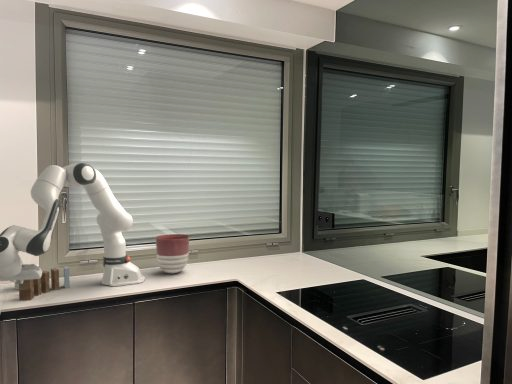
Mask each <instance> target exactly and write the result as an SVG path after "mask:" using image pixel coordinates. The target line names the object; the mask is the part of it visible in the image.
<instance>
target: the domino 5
mask: <svg viewBox="0 0 512 384" xmlns="http://www.w3.org/2000/svg"><path fill="white" fill-rule="evenodd" d="M63 282H64V283H63V284H64V288H65V289H68V288H70V282H71V281H70V267H69V266H68V265H67V266H63Z"/></svg>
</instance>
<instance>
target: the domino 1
mask: <svg viewBox="0 0 512 384" xmlns="http://www.w3.org/2000/svg"><path fill="white" fill-rule="evenodd" d="M18 293H19V294H18V299H19V301H32V300H33V299H34V298H35V295H34V281H33V279H29V280H23V284H19V290H18Z"/></svg>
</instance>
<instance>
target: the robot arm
mask: <svg viewBox="0 0 512 384" xmlns="http://www.w3.org/2000/svg"><path fill="white" fill-rule="evenodd" d="M81 186H82V187H83V188H84V190H85V192H86V194H87V196H88V197H89V199H90V202H91V203H92V205H93V207H94V208H95V209H96V210H97V211H98V214H97V216H96V223H97V225H98V227H99V229H100V233H101V236H102V240H103V241H102V242H103V258H102V266H103V273H102V279H101V282H100V283H101V284H102V285H104V286H110V287H118V286H119V287H120V286H129V285H136V284H143V283H144V282H145V281H146V277H145V275H144V274H141V269H140V268H139V267H138V266H137V265H135V264H134V263H132V262H131V257H130V255H128V254H127V251H126V250H127V249H126V248H127V247H126V246H127V245H126V244H127V243H126V239H125V238H124V236H123V233H122V232H126V231H129V230H130V229H131V228H132V227H133V224H134V219H133V217H132V215H131V214H130V213H128V212H127V211H126V210H125V208H124V207H123V206H122V205H121V203H120V202H119V201H118V199H116V197H115V195H114V193H113V192H112V190H111V188H110V186H109V184H108V182H107V180H106V179H105V177H104V176H103V175H102V173H101V172H100V171H99V170H98V169H96V168H94V167H93V166H92V165H90V163H85V162H79V163H71V164H69V165H65V166H59V165H55V164H52V165H48V166H47V167H46V168H45V169H43V171H42V172H41V173H40V174H39V176H38V177H37V178H36V180H35V181H34V182H33V185H32V186H31V188H30V189H31V190H30V196H31V199H32V200H33V202H34V203H36V205H38V206H39V207H41V208H42V209H43V210H45V216H44V219H43V222H42V225H41V228H39V229H38V230H36V229H35V230H34V229H31V228H26V227H23V226H20V225H15V224H14V225H10V226H9V227H6V228H5V229H4V230H2V232H1V233H0V282H8V281H10V282H12V283H14V285H15V284H23V280H29V279H40V278H41V276H42V271H43V270H42V268H41V267H40V266H39V265H38V264H36V263H25V264H24V263H23V260H22V258H21V257H20V255H19V252H22V253H27V254H30V255H31V256H34V257H38V256H41V255H44V254H45V253H46V252H48V250H49V249H50V247H51V244H52V237H53V234H54V230H55V228H56V224H57V221H58V220H59V216H60V212H61V207H62V204H61V203H62V202H61V201H60V199H59V196H60V193H61V191H62V190H63V188H66V189H68V188H77V187H81Z"/></svg>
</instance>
